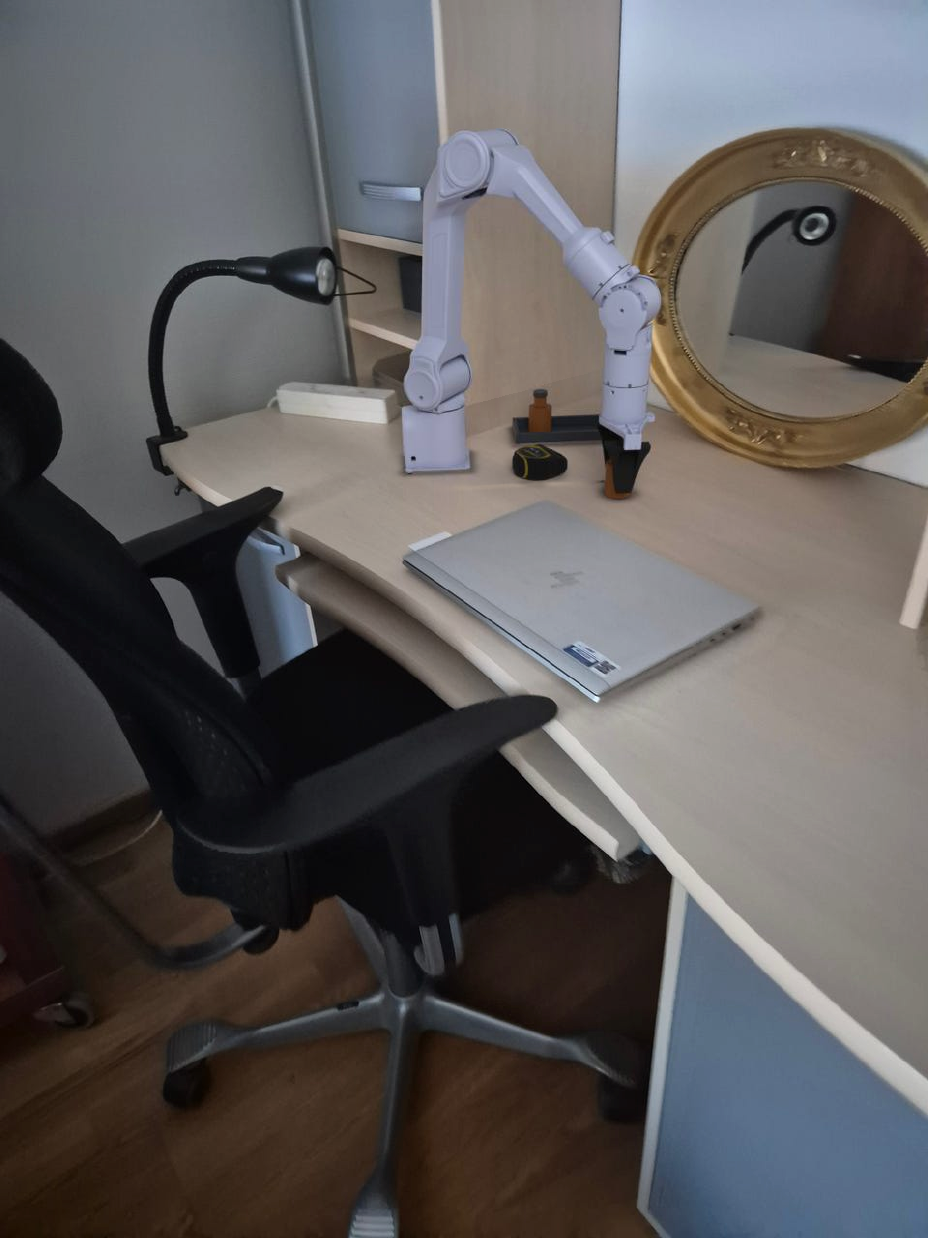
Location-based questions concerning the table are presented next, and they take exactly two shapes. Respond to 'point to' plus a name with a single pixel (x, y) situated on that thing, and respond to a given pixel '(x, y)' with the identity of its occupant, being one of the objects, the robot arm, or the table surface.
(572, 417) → the tray
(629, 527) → the table surface
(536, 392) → the row bottle
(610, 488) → the amber bottle
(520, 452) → the tape measure
